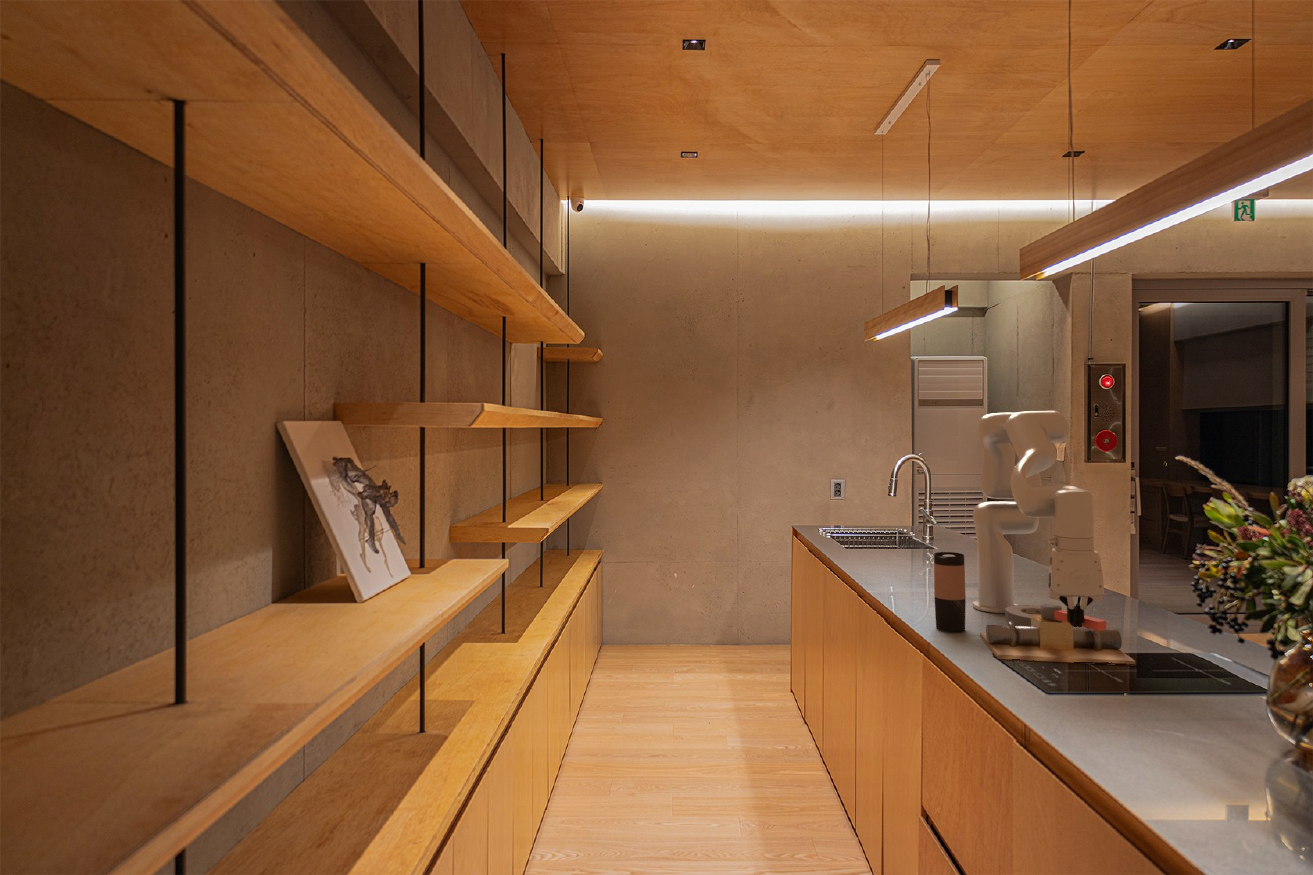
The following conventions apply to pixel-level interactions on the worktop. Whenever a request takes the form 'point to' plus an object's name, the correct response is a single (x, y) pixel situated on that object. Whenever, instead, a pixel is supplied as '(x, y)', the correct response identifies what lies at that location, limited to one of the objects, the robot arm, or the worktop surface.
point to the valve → (1052, 635)
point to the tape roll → (1021, 614)
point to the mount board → (1057, 653)
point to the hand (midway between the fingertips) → (1075, 625)
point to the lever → (1058, 614)
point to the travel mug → (949, 591)
